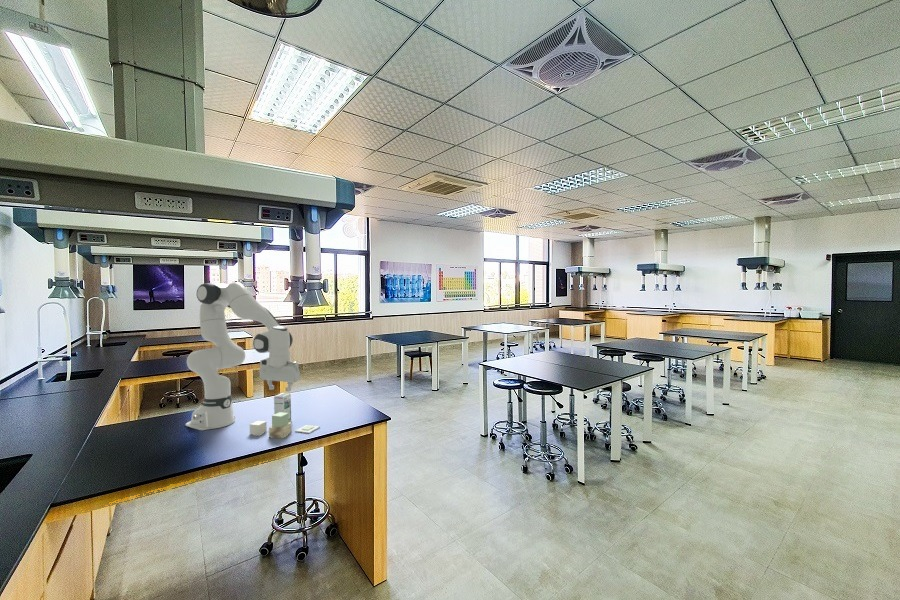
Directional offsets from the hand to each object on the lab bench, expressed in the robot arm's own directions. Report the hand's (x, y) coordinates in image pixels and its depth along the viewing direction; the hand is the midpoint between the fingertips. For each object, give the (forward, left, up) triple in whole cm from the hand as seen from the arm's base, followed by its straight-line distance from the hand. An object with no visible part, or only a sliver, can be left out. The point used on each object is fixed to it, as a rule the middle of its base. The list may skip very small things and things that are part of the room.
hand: (279, 390), depth 169 cm
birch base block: (0, 0, -21) cm, 21 cm away
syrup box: (-11, +14, -21) cm, 28 cm away
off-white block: (-12, -1, -21) cm, 24 cm away
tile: (+8, +9, -21) cm, 24 cm away
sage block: (0, 0, -16) cm, 16 cm away
